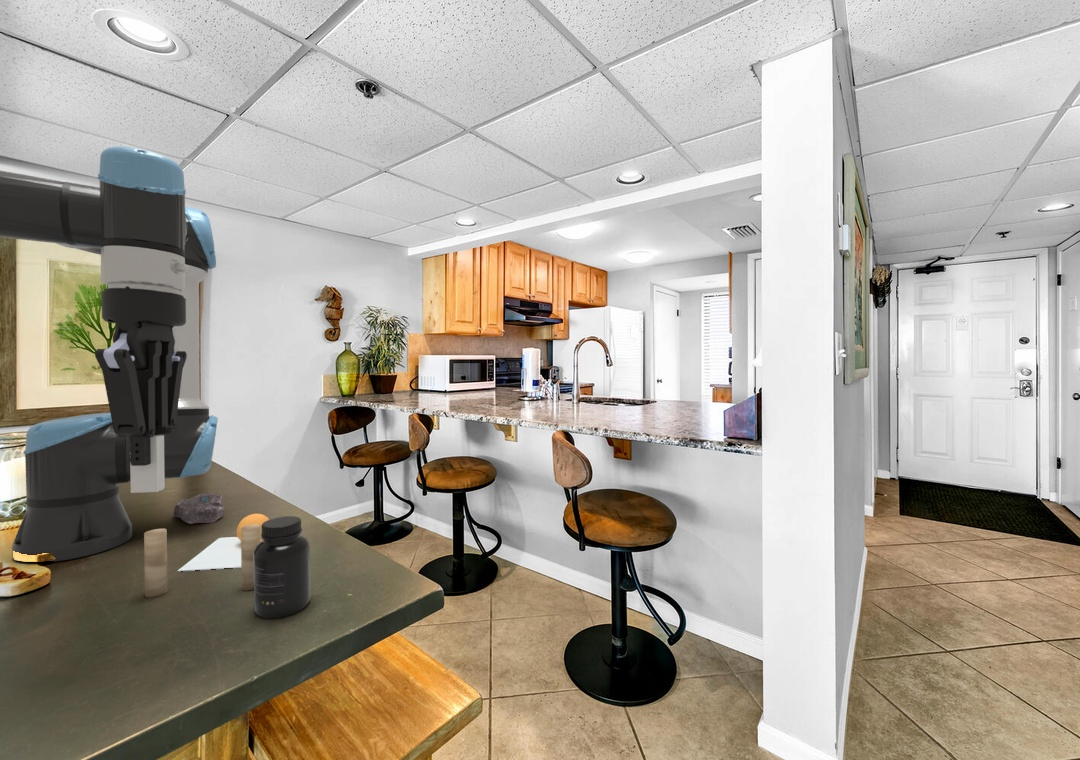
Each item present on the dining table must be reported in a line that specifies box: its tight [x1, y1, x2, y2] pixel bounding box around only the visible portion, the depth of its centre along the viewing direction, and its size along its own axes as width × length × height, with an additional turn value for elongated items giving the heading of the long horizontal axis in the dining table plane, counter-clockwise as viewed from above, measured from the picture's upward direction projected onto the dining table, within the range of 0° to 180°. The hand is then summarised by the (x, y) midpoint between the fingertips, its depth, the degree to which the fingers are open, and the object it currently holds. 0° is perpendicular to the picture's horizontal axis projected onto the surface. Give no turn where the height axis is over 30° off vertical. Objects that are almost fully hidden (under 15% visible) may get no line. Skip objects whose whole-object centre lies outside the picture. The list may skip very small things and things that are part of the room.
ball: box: [236, 513, 270, 542], centre depth 86 cm, size 6×6×6 cm
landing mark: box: [177, 536, 241, 573], centre depth 83 cm, size 14×14×1 cm
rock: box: [172, 492, 225, 525], centre depth 99 cm, size 8×11×5 cm
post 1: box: [143, 528, 168, 598], centre depth 67 cm, size 2×2×9 cm
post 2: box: [240, 524, 261, 591], centre depth 70 cm, size 2×2×9 cm
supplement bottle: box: [253, 515, 311, 619], centre depth 64 cm, size 7×7×12 cm
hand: (147, 490), depth 55 cm, fingers closed
